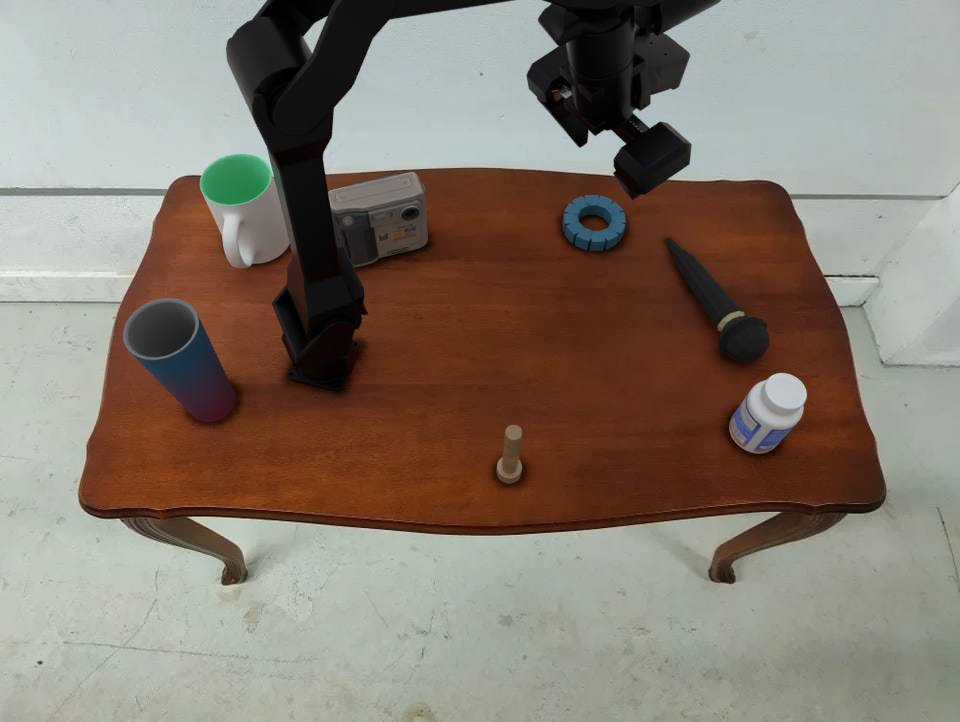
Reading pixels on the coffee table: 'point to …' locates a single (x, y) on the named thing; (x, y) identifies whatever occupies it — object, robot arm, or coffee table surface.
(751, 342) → the microphone
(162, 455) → the coffee table surface
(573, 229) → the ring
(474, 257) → the coffee table surface
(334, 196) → the camera
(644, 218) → the coffee table surface
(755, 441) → the pill bottle
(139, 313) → the cup
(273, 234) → the mug
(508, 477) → the beige peg
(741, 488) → the coffee table surface
